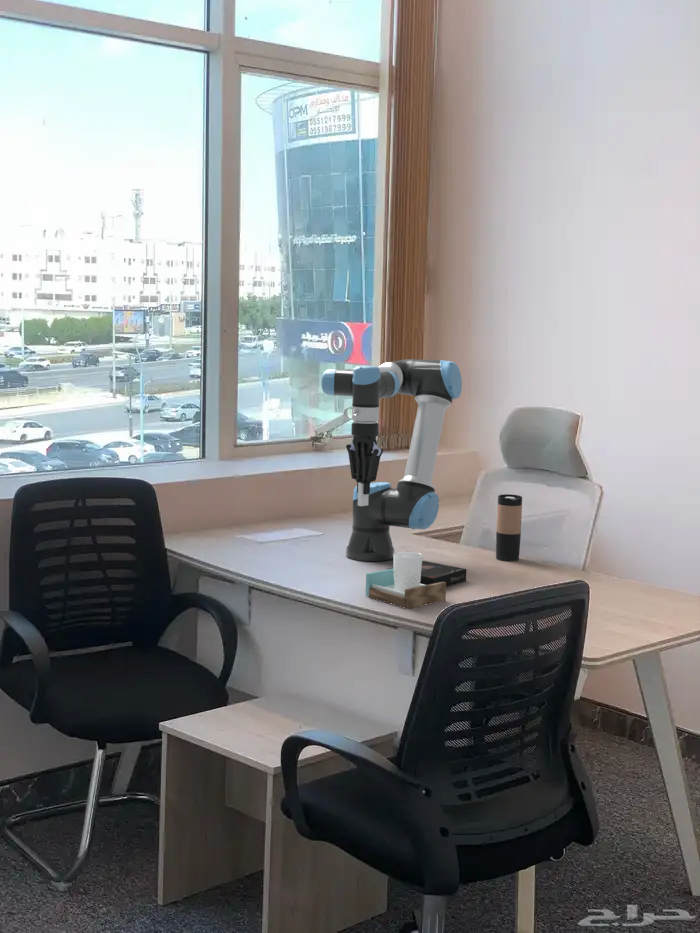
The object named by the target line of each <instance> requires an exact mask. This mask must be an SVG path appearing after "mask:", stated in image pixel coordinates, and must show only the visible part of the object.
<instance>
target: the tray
mask: <svg viewBox="0 0 700 933" xmlns="http://www.w3.org/2000/svg"><path fill="white" fill-rule="evenodd" d="M387 569H388V570H387ZM387 569H383V570H378V571H372V572H367V573H365V574H366V575H365V596H367V597H369V588H374V589H377V590H381V591H384V592H388V593H391V594H395V595H398V596H402V597H405V593H404V592H400V591H397V590H394V571H393V569H389V568H387ZM419 586H424V584H421V583H420V585H419Z"/></svg>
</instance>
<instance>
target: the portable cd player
mask: <svg viewBox="0 0 700 933" xmlns="http://www.w3.org/2000/svg"><path fill="white" fill-rule="evenodd" d="M388 569H393V567H389V568H387V569H386V570H388ZM439 582H446V588H449V587H451V586H454V585H458V584H461V583H464V582H467V568H463V567H460V566H459V567H457V566H453V565H447V564H442V563H436V562H432V561H427V560H422V571H421V579H420V583H421V584H424V585H429V584H434V583H439Z"/></svg>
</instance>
